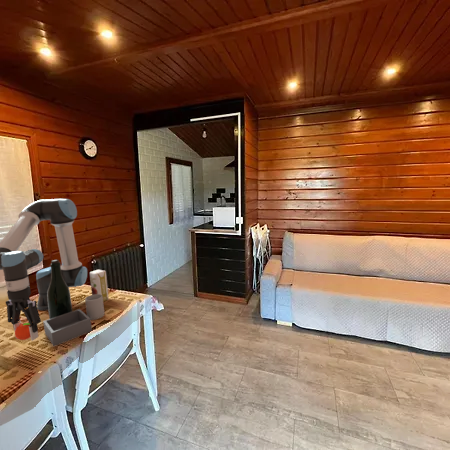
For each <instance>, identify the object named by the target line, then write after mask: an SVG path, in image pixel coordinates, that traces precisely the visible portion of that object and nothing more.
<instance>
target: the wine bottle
mask: <svg viewBox="0 0 450 450" xmlns="http://www.w3.org/2000/svg"><path fill="white" fill-rule="evenodd" d="M61 265H62V263H61V262H60V261H59V259H54V260H53V259H52V260H51V263H50V264H49V267H51V282H50V285H49V288H48V293H47V299H48V310H47V311H48V317H49V318H48V319H51V318H54V317H57V316H60V315H63V314H66V313H69V312H72V311H73V306H72V305H73V304H72V298H71V292H70V287H68V285H67V284H66V282H65V280H64V279H63V276H62V273H61Z"/></svg>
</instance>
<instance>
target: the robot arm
mask: <svg viewBox="0 0 450 450" xmlns="http://www.w3.org/2000/svg"><path fill="white" fill-rule="evenodd" d="M77 216H78V210H77V206H76V204H75V202H74V201H72V200H71V199H69V198H54V199H53V198H51V199H39V200H37V201H34V202H31V203H30V204H29V205H27V206H25V207H24V209H22V210H21V212H20V213H19V214H18V219H17V220H16V221H15V223H14V224H13V226H12V227H11V228H10V229H9V231H7V232H6V235H5V236H3V238H2V240H1V241H0V271H1V270H2V271H3V275H4V281H5V287H6V290H7V291H6V294H7V299H8V300H6V301H5V305H6V314H7V323H11V324H12V327H13V331H14V332H15V330H16V328H17V327H18V326H19V325H21V324H22V321H21V319H20V318H21V312H22V313H23V314H24V315H25V318H26V319H27V321H28V322H27V323H29V324H30V326H29V331H30V336H31V337H30V340H31V341H34V340H36V339H38V337H39V329H38V324H40V323H41V322H42V320H41V316H40V313H39V311H48V299H47V293H48V288H49V285H50V282H51V267H50V266H49V267H46V268H42V269H40V270H38V271H37V272H36V274H35V276H36V278H35V280H36V285H37V289H38V298H37V300H31V299H30V296H31V295H32V292H31V286H30V280H29V274H28V270H29V269H31V268H33V267H35V266H38V265H39V264H41V263H42V261H43V259H44V254H43V252H42V251H41V250H39V249H37V248H32V249H28V250H26V251H25V250H24V251H23V250H19V249H20V247H22V245H23V243H24V242H25V240H26V238H27V237H28V236H29V234H30V233H31V232H32V230H33V229H34V227H35V226H38V225H39V223H41V222H42V221H50V224H51V226H54V229H55V234H56V240H57V246H58V250H59V255H60V256H59V257H60V260H61V265H60V267H61V273H62V276H63V279H64V280H65V282H66V284H67V285H68V287H69V288H73V287H74V288H77V287H82V286H83V285H84V284H85V283H86V281H87V278H88V268H87V267H86V266H83V263H82V262H81V261H79V256H78V250H77V245H76V241H75V240H76V239H75V235H74V233H75V232H74V229H73V224H74V222H75V219H76V218H77ZM15 339H17V338H16V337H15ZM17 340H18V339H17Z"/></svg>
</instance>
